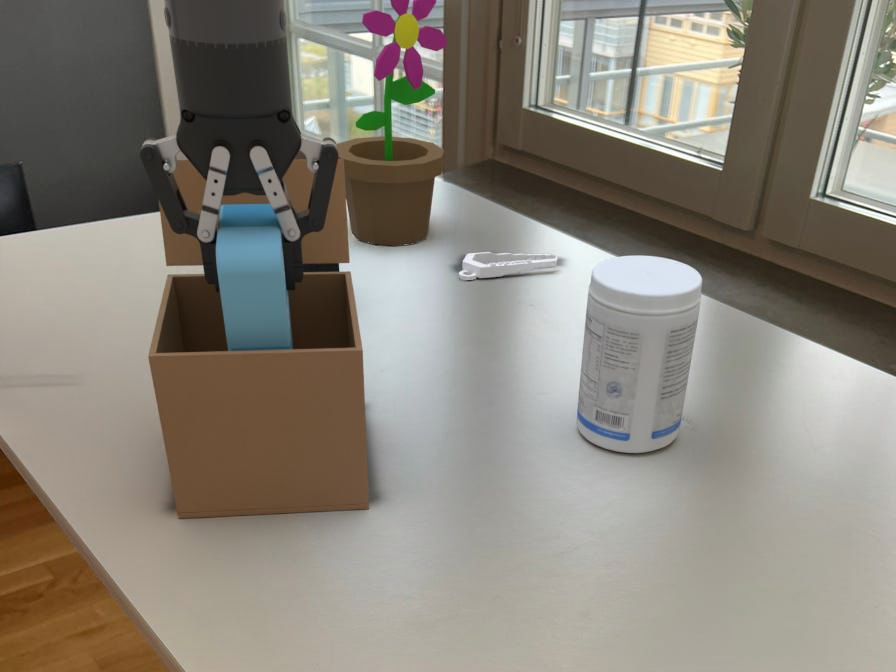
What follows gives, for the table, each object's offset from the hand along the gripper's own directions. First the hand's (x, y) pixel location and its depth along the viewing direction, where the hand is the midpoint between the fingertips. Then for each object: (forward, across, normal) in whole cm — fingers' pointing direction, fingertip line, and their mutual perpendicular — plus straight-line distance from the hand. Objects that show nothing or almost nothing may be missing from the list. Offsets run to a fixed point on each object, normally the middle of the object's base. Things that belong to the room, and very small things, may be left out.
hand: (255, 286), depth 75 cm
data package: (+8, 0, 0) cm, 8 cm away
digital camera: (+15, -3, -38) cm, 41 cm away
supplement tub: (+15, -32, -3) cm, 36 cm away
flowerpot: (+16, -15, -60) cm, 64 cm away
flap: (-3, 0, -9) cm, 9 cm away
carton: (+15, 0, 0) cm, 15 cm away
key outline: (+16, -28, -45) cm, 56 cm away
